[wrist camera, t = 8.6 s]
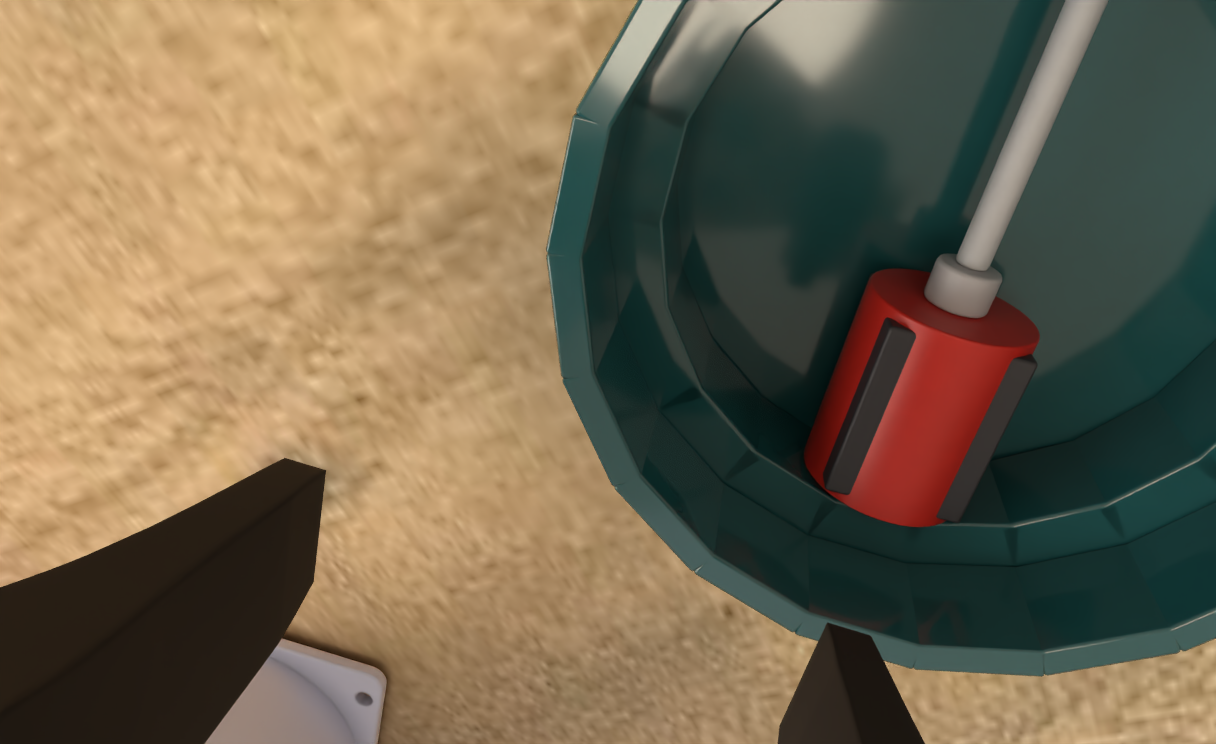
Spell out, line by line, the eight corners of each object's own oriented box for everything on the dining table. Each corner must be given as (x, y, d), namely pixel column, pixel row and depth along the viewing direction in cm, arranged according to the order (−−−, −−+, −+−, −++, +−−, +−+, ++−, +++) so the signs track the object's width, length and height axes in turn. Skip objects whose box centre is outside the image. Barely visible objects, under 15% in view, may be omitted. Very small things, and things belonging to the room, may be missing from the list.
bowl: (1139, 575, 22) (1238, 767, 17) (552, 406, 23) (485, 543, 18) (1564, -92, 15) (1923, -89, 10) (710, -300, 16) (674, -386, 11)
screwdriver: (938, 455, 21) (971, 544, 18) (798, 419, 21) (808, 503, 18) (1179, -59, 16) (1275, -47, 13) (994, -106, 16) (1051, -104, 13)
